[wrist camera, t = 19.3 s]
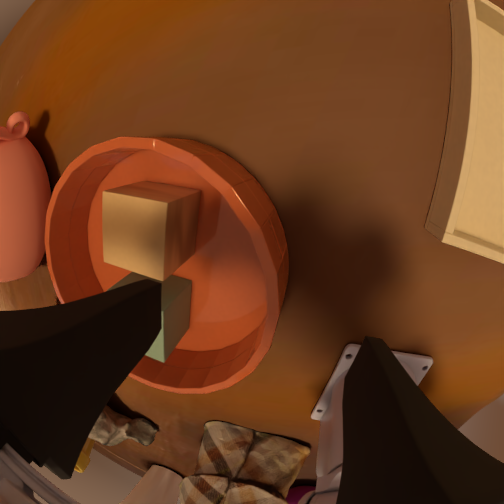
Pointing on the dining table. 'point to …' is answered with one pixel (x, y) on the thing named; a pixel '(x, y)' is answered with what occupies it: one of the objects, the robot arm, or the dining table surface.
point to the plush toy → (242, 467)
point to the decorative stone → (121, 429)
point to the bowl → (195, 268)
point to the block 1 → (149, 227)
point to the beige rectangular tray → (473, 136)
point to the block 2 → (167, 312)
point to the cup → (155, 488)
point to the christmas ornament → (298, 493)
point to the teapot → (21, 201)
